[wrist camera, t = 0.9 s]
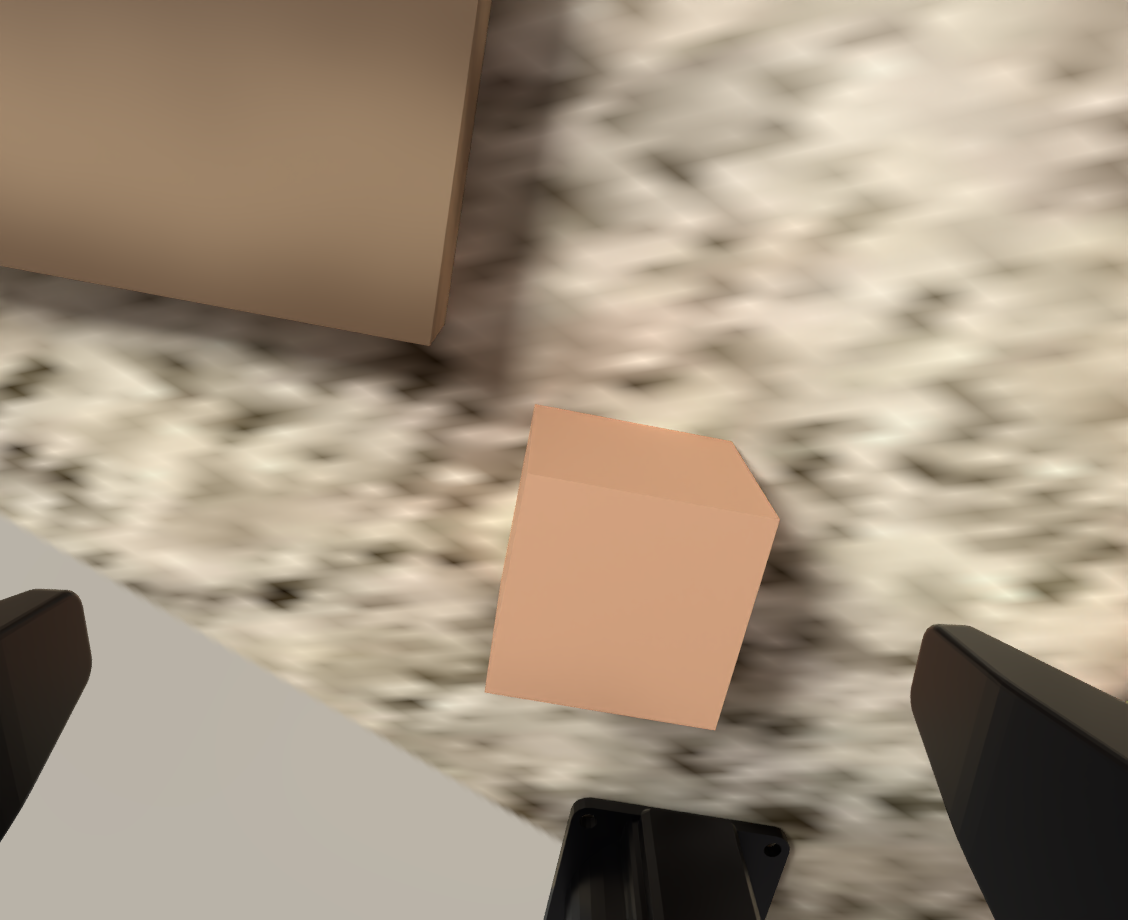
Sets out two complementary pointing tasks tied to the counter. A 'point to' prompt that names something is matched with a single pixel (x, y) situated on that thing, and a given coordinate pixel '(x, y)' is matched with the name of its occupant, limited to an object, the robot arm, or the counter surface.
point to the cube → (628, 569)
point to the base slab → (244, 151)
